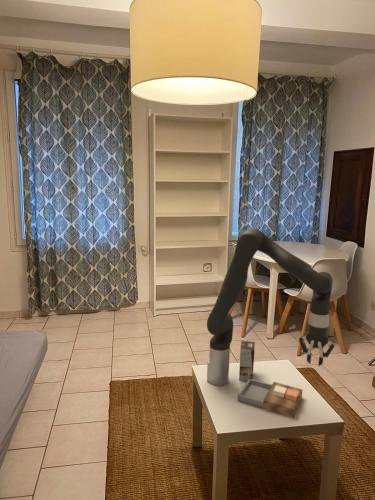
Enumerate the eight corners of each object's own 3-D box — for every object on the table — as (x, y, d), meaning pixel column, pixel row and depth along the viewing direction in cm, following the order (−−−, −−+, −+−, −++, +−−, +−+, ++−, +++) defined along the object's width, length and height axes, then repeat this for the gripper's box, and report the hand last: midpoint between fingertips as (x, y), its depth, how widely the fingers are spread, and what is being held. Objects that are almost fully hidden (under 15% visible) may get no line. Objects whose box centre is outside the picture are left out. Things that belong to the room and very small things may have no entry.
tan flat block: (262, 408, 158) (263, 400, 158) (273, 389, 172) (273, 381, 171) (293, 418, 153) (294, 409, 152) (301, 397, 167) (302, 389, 166)
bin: (237, 401, 163) (237, 394, 163) (249, 384, 176) (249, 378, 176) (262, 408, 158) (263, 402, 158) (272, 391, 171) (273, 384, 171)
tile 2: (285, 398, 159) (285, 393, 159) (287, 392, 163) (288, 388, 163) (296, 401, 157) (296, 396, 157) (298, 395, 161) (298, 391, 161)
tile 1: (273, 394, 161) (273, 390, 161) (276, 389, 165) (276, 385, 165) (283, 397, 159) (284, 393, 159) (286, 392, 163) (286, 388, 163)
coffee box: (252, 382, 178) (254, 350, 175) (238, 380, 179) (240, 348, 176) (253, 372, 187) (255, 341, 184) (239, 370, 188) (241, 340, 185)
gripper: (297, 322, 150) (294, 363, 153) (336, 330, 143) (332, 372, 147) (301, 316, 156) (298, 355, 160) (338, 323, 150) (334, 364, 153)
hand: (314, 363), depth 153 cm, fingers open, 3 cm apart
